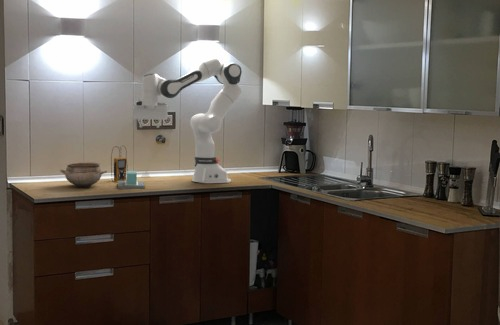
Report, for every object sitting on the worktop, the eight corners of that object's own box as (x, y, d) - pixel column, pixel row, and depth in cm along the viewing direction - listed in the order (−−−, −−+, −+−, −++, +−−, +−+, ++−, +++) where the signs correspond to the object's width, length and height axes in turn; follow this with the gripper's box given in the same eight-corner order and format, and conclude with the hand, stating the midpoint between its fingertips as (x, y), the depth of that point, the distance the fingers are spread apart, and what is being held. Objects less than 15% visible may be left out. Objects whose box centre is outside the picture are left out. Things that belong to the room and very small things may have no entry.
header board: (143, 183, 378) (144, 173, 378) (144, 188, 361) (144, 178, 360) (118, 183, 376) (118, 173, 375) (118, 188, 358) (118, 178, 357)
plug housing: (136, 181, 374) (136, 170, 373) (136, 184, 363) (136, 173, 362) (126, 181, 373) (126, 170, 372) (126, 184, 362) (126, 173, 361)
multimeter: (120, 183, 376) (120, 147, 374) (108, 181, 382) (108, 146, 380) (140, 181, 388) (140, 146, 386) (128, 179, 394) (128, 144, 392)
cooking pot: (110, 184, 372) (110, 162, 370) (103, 189, 353) (103, 166, 351) (64, 183, 371) (64, 161, 370) (55, 188, 353) (54, 165, 351)
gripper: (168, 102, 383) (167, 127, 385) (131, 102, 380) (131, 126, 381) (168, 103, 377) (168, 128, 379) (131, 102, 373) (131, 127, 375)
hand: (149, 127), depth 380 cm, fingers open, 8 cm apart
